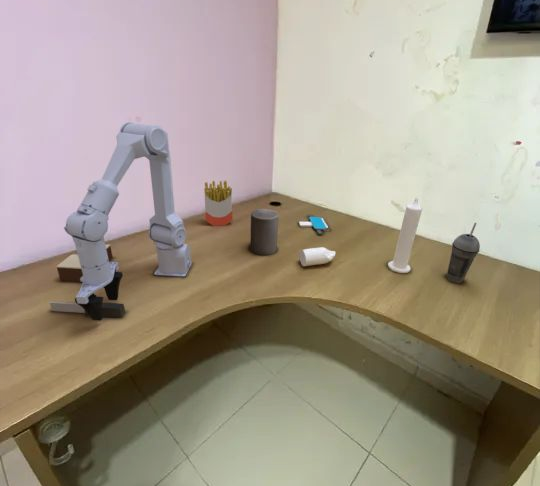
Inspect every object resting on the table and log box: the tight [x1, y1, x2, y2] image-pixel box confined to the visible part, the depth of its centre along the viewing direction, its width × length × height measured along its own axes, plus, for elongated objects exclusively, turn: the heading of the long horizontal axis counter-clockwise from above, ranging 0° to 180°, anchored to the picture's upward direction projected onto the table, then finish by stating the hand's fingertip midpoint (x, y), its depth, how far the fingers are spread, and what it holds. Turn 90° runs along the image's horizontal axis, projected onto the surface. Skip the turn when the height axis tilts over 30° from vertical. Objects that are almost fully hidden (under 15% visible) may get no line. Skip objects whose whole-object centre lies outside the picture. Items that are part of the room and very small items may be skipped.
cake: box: [55, 253, 83, 283], centre depth 91 cm, size 8×7×5 cm
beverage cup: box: [446, 222, 481, 284], centre depth 95 cm, size 7×7×20 cm
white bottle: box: [298, 246, 336, 267], centre depth 103 cm, size 6×12×6 cm, turn 105°
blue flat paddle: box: [298, 214, 331, 236], centre depth 133 cm, size 20×12×2 cm, turn 5°
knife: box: [49, 301, 126, 319], centre depth 77 cm, size 18×2×3 cm, turn 88°
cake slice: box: [105, 243, 114, 262], centre depth 99 cm, size 8×3×5 cm, turn 88°
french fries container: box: [204, 180, 233, 227], centre depth 127 cm, size 5×11×18 cm, turn 101°
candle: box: [387, 196, 423, 274], centre depth 98 cm, size 7×7×25 cm
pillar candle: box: [249, 208, 280, 256], centre depth 109 cm, size 10×10×15 cm
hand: (105, 308), depth 77 cm, fingers open, 7 cm apart
